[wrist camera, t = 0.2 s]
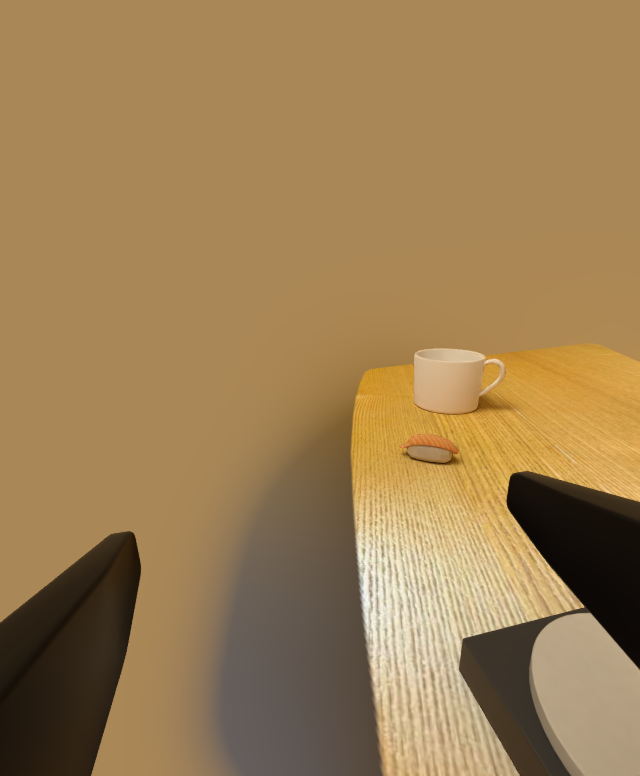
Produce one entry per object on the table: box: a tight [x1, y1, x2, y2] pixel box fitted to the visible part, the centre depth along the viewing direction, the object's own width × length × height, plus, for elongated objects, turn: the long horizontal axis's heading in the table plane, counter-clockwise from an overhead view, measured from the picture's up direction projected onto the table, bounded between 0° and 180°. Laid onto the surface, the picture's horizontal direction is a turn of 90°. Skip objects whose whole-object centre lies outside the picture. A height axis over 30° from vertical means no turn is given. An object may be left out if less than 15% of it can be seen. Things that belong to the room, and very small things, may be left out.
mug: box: [414, 349, 506, 414], centre depth 57 cm, size 13×10×8 cm
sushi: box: [399, 434, 458, 463], centre depth 41 cm, size 3×6×3 cm, turn 70°
